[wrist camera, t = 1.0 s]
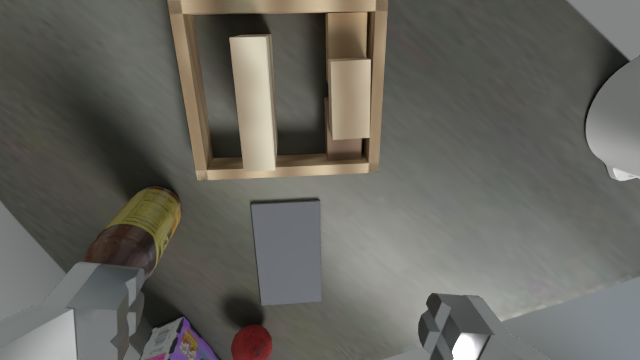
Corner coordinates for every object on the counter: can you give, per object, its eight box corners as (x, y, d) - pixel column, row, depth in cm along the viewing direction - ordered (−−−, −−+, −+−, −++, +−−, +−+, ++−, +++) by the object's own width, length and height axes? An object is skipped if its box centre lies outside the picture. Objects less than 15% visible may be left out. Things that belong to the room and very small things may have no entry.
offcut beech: (365, 57, 38) (370, 59, 35) (364, 130, 41) (369, 137, 38) (327, 58, 37) (330, 61, 35) (329, 132, 41) (332, 139, 38)
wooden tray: (378, -1, 38) (388, -3, 34) (371, 160, 45) (378, 172, 42) (179, 1, 37) (167, -1, 33) (204, 167, 44) (197, 180, 40)
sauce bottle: (159, 234, 47) (79, 365, 29) (123, 201, 45) (11, 320, 27) (196, 207, 46) (138, 326, 28) (161, 172, 44) (72, 276, 26)
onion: (251, 306, 53) (246, 351, 46) (280, 324, 55) (279, 370, 48) (227, 328, 55) (218, 375, 48) (256, 345, 57) (252, 393, 49)
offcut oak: (361, 13, 39) (367, 12, 36) (360, 79, 42) (365, 82, 39) (325, 13, 38) (328, 13, 36) (326, 80, 41) (328, 84, 39)
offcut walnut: (357, 95, 42) (362, 100, 40) (356, 150, 45) (361, 159, 42) (324, 96, 42) (326, 101, 39) (325, 152, 45) (327, 160, 42)
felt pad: (319, 200, 47) (319, 201, 47) (321, 299, 54) (321, 301, 54) (251, 203, 47) (251, 204, 46) (261, 303, 53) (261, 305, 53)
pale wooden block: (271, 33, 39) (265, 36, 29) (277, 139, 43) (275, 170, 34) (243, 34, 38) (229, 37, 29) (253, 140, 43) (243, 171, 34)
